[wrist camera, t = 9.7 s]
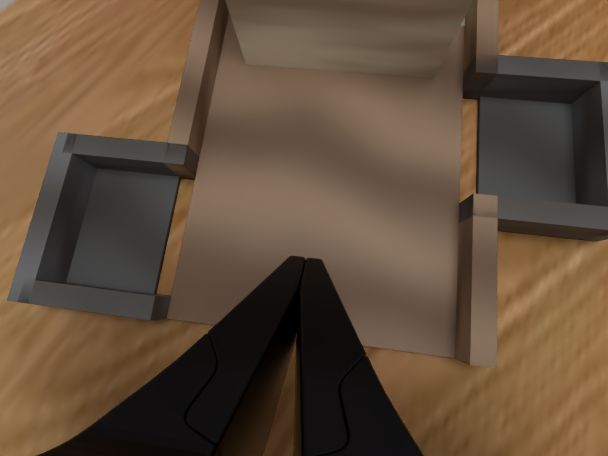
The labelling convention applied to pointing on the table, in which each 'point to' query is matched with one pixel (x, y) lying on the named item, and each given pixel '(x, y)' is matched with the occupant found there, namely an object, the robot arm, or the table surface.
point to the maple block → (349, 34)
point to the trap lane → (329, 189)
